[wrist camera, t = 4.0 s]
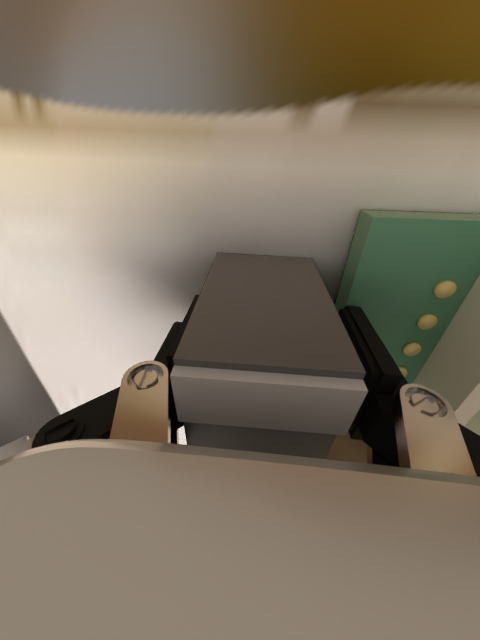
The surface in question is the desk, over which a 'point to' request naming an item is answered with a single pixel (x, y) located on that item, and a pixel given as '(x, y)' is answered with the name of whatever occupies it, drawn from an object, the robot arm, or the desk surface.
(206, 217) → the desk surface
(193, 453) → the robot arm
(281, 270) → the plug
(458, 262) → the board
